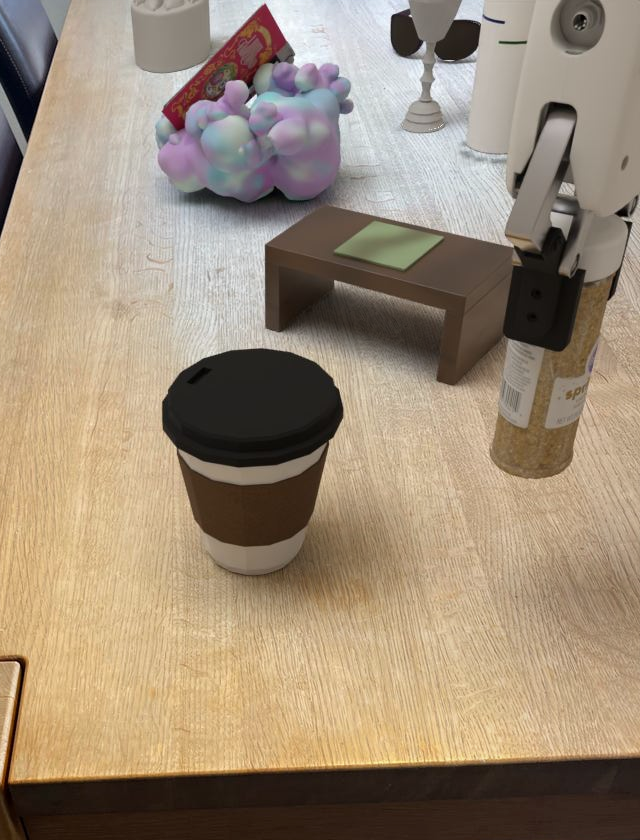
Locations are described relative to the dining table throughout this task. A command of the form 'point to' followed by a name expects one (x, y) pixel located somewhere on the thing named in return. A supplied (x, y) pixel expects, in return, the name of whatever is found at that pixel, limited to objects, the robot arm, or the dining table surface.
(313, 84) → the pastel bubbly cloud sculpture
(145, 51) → the lumpy-topped squat cylinder
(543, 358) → the brown spice jar
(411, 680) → the dining table surface
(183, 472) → the coffee cup
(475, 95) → the cylindrical container
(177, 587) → the dining table surface
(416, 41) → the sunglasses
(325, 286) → the low table
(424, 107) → the chalice
